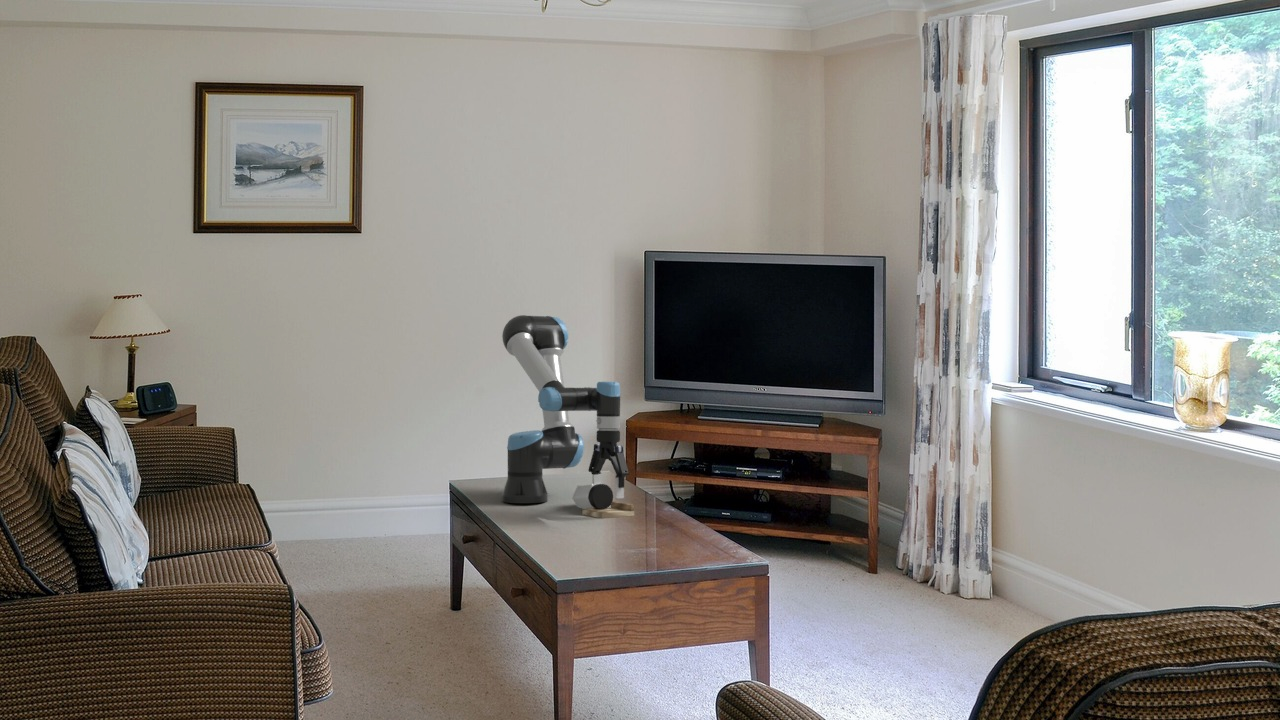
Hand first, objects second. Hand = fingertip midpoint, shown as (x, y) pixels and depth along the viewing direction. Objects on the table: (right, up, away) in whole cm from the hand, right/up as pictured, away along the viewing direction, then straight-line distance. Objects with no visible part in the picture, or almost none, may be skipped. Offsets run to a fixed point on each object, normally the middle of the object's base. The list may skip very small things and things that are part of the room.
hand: (608, 496), depth 348 cm
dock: (0, -6, 0) cm, 6 cm away
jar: (-9, -2, +12) cm, 15 cm away
